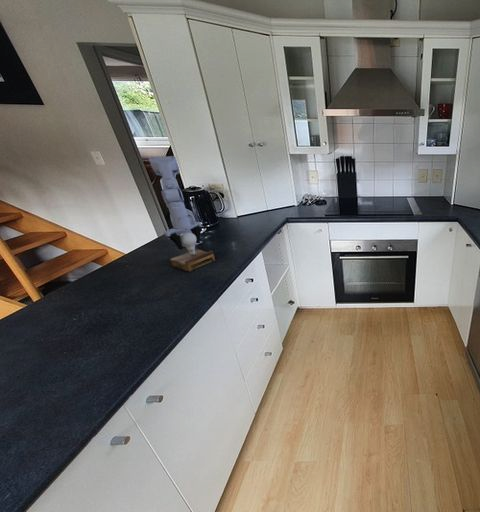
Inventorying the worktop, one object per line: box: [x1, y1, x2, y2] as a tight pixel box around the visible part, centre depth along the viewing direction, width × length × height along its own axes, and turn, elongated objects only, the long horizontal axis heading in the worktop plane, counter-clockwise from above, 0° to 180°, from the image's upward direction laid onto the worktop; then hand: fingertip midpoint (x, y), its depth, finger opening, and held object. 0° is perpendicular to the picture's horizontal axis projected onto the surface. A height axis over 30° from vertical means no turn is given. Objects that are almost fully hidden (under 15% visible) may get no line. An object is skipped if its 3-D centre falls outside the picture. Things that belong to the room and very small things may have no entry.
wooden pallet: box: [170, 248, 216, 273], centre depth 123 cm, size 12×12×5 cm
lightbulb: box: [180, 232, 197, 255], centre depth 122 cm, size 6×6×11 cm
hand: (189, 245), depth 122 cm, fingers open, 7 cm apart
